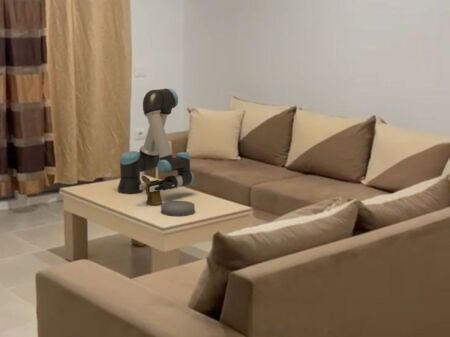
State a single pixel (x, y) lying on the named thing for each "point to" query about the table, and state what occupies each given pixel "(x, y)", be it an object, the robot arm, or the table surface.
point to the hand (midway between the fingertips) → (145, 188)
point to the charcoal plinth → (177, 208)
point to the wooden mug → (151, 193)
